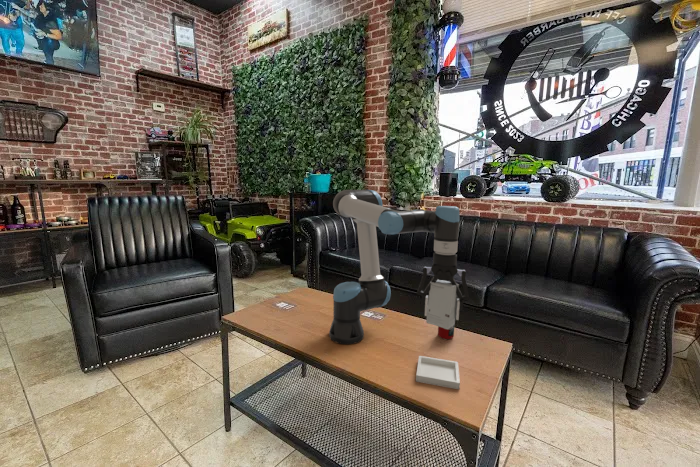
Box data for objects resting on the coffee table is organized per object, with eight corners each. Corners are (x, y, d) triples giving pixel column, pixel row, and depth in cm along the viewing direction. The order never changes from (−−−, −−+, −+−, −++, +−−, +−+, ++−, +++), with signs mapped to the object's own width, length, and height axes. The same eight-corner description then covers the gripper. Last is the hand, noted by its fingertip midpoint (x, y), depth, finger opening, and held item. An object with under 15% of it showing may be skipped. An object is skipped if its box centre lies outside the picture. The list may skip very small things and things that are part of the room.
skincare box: (426, 323, 107) (427, 281, 105) (433, 317, 111) (435, 277, 109) (449, 330, 101) (452, 287, 99) (456, 324, 106) (459, 282, 104)
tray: (415, 381, 105) (416, 375, 105) (418, 361, 118) (419, 355, 117) (459, 389, 101) (459, 383, 101) (457, 367, 114) (457, 361, 113)
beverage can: (454, 341, 133) (456, 314, 131) (438, 339, 134) (439, 313, 133) (452, 334, 140) (454, 308, 138) (437, 332, 141) (438, 307, 139)
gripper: (410, 252, 102) (407, 316, 106) (482, 257, 96) (477, 325, 100) (412, 248, 110) (409, 308, 113) (479, 252, 103) (474, 316, 107)
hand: (441, 316), depth 106 cm, fingers closed on skincare box, 10 cm apart
